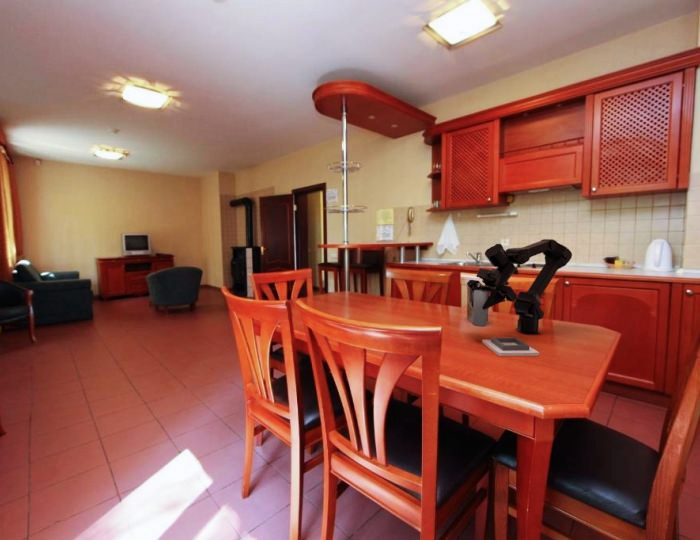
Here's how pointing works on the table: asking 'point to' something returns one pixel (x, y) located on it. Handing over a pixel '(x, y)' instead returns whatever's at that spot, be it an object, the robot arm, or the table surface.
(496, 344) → the seat board
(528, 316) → the robot arm
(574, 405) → the table surface
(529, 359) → the table surface
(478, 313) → the slate post
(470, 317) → the coffee box
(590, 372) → the table surface
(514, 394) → the table surface
